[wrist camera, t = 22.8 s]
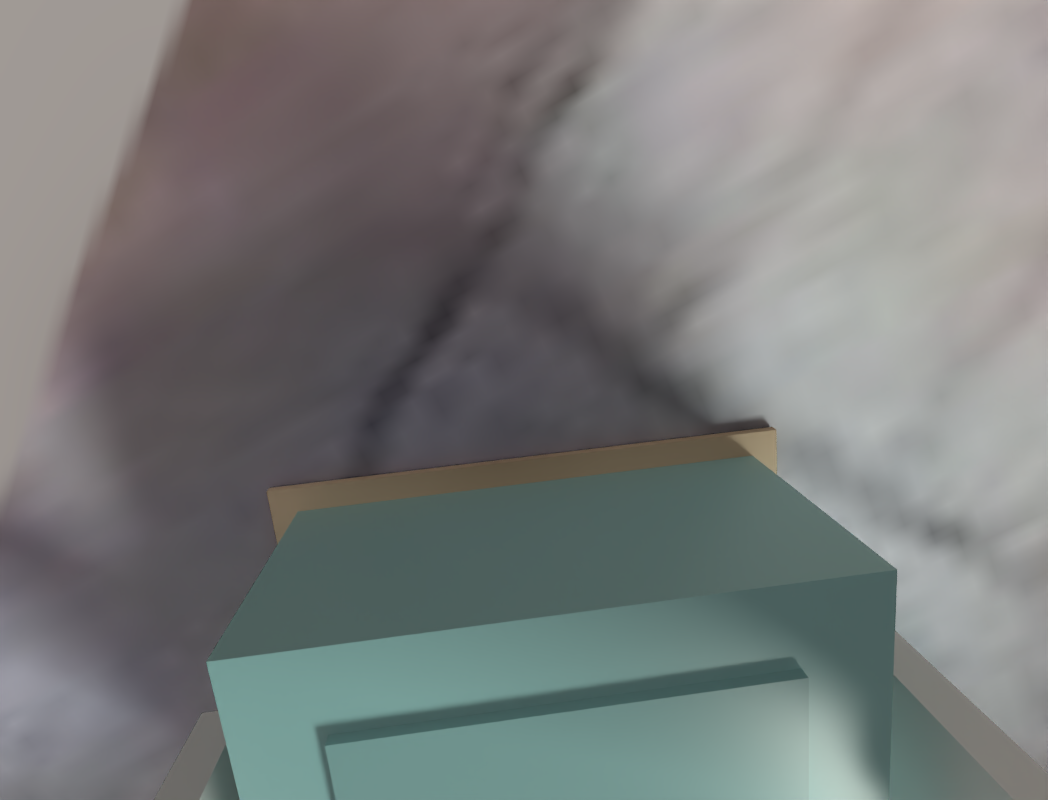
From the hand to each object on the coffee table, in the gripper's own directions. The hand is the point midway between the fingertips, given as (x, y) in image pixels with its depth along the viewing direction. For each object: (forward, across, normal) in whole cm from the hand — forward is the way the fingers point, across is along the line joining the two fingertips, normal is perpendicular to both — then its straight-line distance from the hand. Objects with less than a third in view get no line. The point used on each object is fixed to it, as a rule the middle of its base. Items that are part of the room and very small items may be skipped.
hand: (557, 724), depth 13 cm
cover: (+1, 0, 0) cm, 1 cm away
